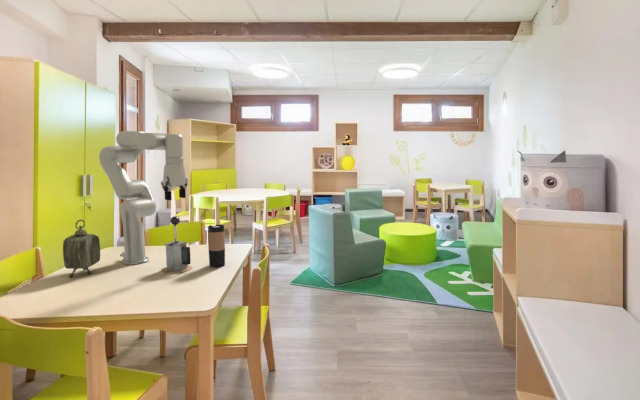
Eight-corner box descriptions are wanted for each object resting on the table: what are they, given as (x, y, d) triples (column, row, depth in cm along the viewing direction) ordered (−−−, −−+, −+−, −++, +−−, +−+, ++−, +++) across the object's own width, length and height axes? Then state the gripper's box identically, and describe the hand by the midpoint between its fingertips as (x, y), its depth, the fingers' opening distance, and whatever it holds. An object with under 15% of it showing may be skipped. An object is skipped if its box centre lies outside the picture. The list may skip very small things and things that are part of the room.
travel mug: (221, 269, 195) (220, 227, 193) (206, 268, 197) (204, 227, 194) (228, 265, 203) (226, 224, 200) (213, 264, 204) (212, 224, 202)
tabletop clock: (83, 269, 195) (79, 217, 192) (102, 269, 195) (99, 217, 192) (64, 278, 180) (60, 222, 177) (85, 278, 180) (81, 222, 178)
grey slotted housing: (162, 270, 191) (161, 243, 189) (175, 265, 199) (174, 240, 197) (183, 273, 187) (182, 246, 185) (195, 268, 195) (194, 242, 193)
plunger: (166, 249, 190) (165, 216, 189) (175, 246, 196) (173, 215, 194) (177, 250, 188) (175, 217, 186) (185, 247, 194) (184, 215, 192)
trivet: (154, 272, 189) (154, 271, 189) (175, 265, 202) (175, 263, 202) (179, 276, 184) (179, 274, 184) (198, 267, 197) (198, 266, 197)
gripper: (180, 160, 197) (181, 196, 199) (154, 161, 180) (155, 200, 183) (193, 161, 194) (194, 197, 196) (168, 162, 178) (169, 201, 180)
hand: (175, 198), depth 189 cm, fingers open, 9 cm apart
